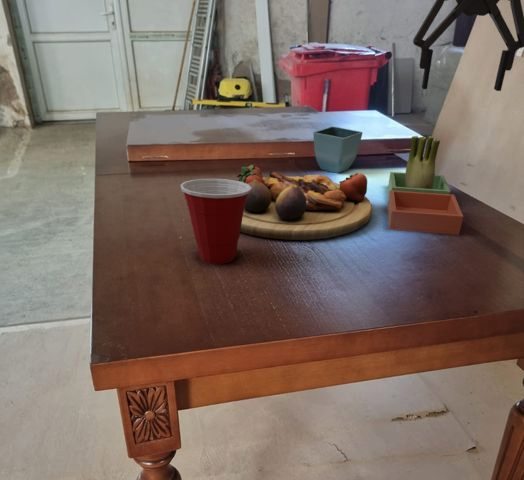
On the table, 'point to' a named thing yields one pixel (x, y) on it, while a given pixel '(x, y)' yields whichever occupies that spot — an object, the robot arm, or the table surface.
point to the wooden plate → (303, 205)
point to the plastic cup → (216, 216)
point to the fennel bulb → (421, 163)
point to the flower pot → (336, 148)
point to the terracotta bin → (424, 212)
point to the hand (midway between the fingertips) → (460, 89)
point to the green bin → (399, 185)
